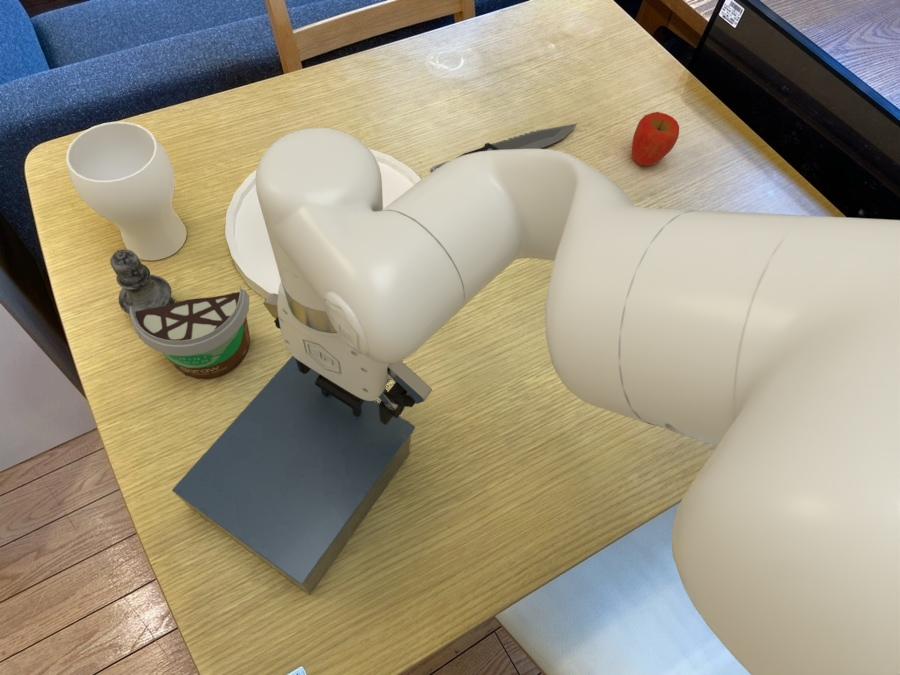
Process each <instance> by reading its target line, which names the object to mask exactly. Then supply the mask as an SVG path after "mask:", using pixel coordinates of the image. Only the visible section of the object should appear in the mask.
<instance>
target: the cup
mask: <svg viewBox="0 0 900 675" xmlns="http://www.w3.org/2000/svg"><path fill="white" fill-rule="evenodd" d="M65 160H66V161H65V162H66V166H67V170H68V174H69V178H70V181H71V184H72V186H73V187H74V189H75V191H76V193H77V194H78V196H79V197H80V199H81V200H82V202H84V204H86V206H87V207H88V208H90V209H91V210H92V211H93V212H95V213H96V214H97V215H98V216H100V217H101V218H103V219H105V220H108V221H109V222H112V223H113V224H114V225H115V226H116V227H117V228H118V229H119V232H120V235H121V239H122V241H123V244H124V247H125V249H126V250H131V251H133V252H134V253H135V254H136V255H137V256H138V258H139V260H142V261H159V260H164V259H167V258H169V257H171V256H172V255H174V254H175V253H177V252H178V251H179V250H180V249H182V247H183V246H184V244H185V242H186V240H187V235H188V233H187V228H186V226H185V224H184V222H183V221H182V219H181V217H180V216H179V215H178V214H177V212H176V211H175V210H174V206H173V198H174V195H175V189H176V188H175V186H176V184H175V182H176V181H175V170H174V167H173V164H172V162H171V159H170V157H169V155H168V153H167V151H166V150H165V148H164V146H162V144H161V143H160V141H159V140H158V139H157V138H156V136H155V135H154V134H153V133H152V132H151V131H150V130H149V129H148V128H146V127H145V126H142V125H139V124H137V123H135V122H134V123H133V122H129V121H110V122H103V123H101V124H96V125H94V126H91V127H90V128H88V129H86V130H83V131H82V132H81V133H79V134H78V135H77V136H76V137H74V138H73V140H72V142H71V143H70V144H69V145H68V148H67V151H66V153H65Z"/></svg>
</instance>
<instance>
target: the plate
mask: <svg viewBox="0 0 900 675" xmlns="http://www.w3.org/2000/svg"><path fill="white" fill-rule="evenodd" d="M368 148H369V149H370V151H371V152H372V154H373V155H374V157H375V158H376V161H377V163H378V165H379V168H380V173H381V178H382V196H383V209H384V208H385V207H387V206H388V205H389V204H391V203H392V202H393V201H395V200H396V199H397V198H398V197H400V196H401V195H402V194H404V193H405V192H406V191H407V190H409V189H410V188H411V187H413V186H414V185H415V184H416V183H418V182H419V181H420V180H422V178H421V177H419V175H418V174H417V173H416V172H415V171H414V170H413V169H412V168H411V167H410V166H408V165H406V164H404V163H403V162H401V161H400V160H398V159H397V158H395V157H393V156H392V155H389V154H387V153H384V152H381V151H378V150H375V149H373V148H370V147H368ZM256 171H257V169H255V170H254V171H252V172H251V173H249V174H248V175H247V177H246V178H245V180H243V182H241V184H240V185H239V187H238V188H237V189H236V190H235V191H234V193H233V196H232V198H231V201H230V202H229V206H228V208H227V211H226V213H225V227H224V228H225V229H224V230H225V231H224V236H225V239H226V242H227V246H228V249H229V252H230V255H231V258H232V261H233V264H234V267H235V269H236V270H237V272H238V273H239V275H240V276H241V278H243V280H244V281H245V283H246V284H247V286H248V287H249V288H250V289H251V290H253V291H254V292H256V293H257V294H258V295H259V296H261V297H262V298H264V299H265V300H266V299H267V298H268V297H269V296H270V295H271V294H272V293H274V294H278V292H279V285H280V282H281V278H280V275H279V271H278V268H277V264H276V261H275V257H274V254H273V250H272V246H271V243H270V239H269V236H268V232H267V229H266V225H265V221H264V218H263V214H262V211H261V207H260V204H259V200H258V196H257V191H256Z"/></svg>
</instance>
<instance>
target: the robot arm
mask: <svg viewBox="0 0 900 675" xmlns="http://www.w3.org/2000/svg"><path fill="white" fill-rule="evenodd" d="M369 148H370V147H368V145H366V144H365V143H364V142H363V141H362V140H360V139H359V138H357V137H356V136H354V135H352V134H350V133H348V132H346V131H343V130H339V129H335V128H329V127H308V128H302V129H298V130H294V131H292V132H289V133H287V134H285V135H283V136H281V137H279V138H278V139H276V140H275V141H273V143H272V144H270V145H269V146H268V147H267V149H266V150H265V151H264V153H263V154H262V155H261V158H260V159H259V162H258V164H257V167H256V170H257V171H256V191H257V196H258V200H259V204H260V207H261V211H262V214H263V218H264V221H265V225H266V229H267V232H268V236H269V239H270V243H271V246H272V250H273V254H274V257H275V261H276V264H277V268H278V271H279V275H280V278H281V282H280V285H279V292H278V294H274V293H272V294H271V295H270V296H269V297H268V298H267V299H265V300H264V301H263V305H264V307H265V308H266V310H267V311H268V312H269V314H270V315H271V316H272V318H274V320H273V322H274V324H275V326H276V328H277V329H278V330H279V329H280V333H281V336H282V340H283V343H284V347H285V349H286V350H287V352H288V353H289V354H290V355H291V357H292V356H293V357H295V359H296V362H297V366H298V369H299V371H300V372H301V373H303V374H307V373H308V372H309V371H310V369H313V370H314V371H316V372H317V373H319V374H321V375H322V376H324V377H325V378H327V379H329V380H330V381H332V382H334V383H335V384H337V385H338V386H340V387H342V388H343V389H345V390H347V391H348V392H350V393H352V394H353V395H355V396H357V397H359V398H361V399H363V400H366V401H377V400H378V399H379V400H380V401H379V402H378V403H379V415H380V420H381V423H383V424H385V425H386V424H387V423H388V422H389V421H390V419H391V418H392V417H393V416H394V417H395V418H398V417H399V416H400V415H401V414H402V413H403V411H404V410H405V408H413V407H414V405H418V404H421V403H423V402H425V401H426V400H427V398H428V397H429V395H430V394H431V393H432V391H433V389H432V387H431V386H430V385H429V384H428V383H427V382H425V380H423V379H422V378H421V377H420V376H419V375H418V374H417V373H416V372H415V371H413V370H412V369H411V368H410V367H409V366H407V365H406V363H405V362H404V360H405V359H407V358H409V357H410V356H412V355H413V354H415V353H416V352H417V351H418V350H419V349H420V348H422V347H423V346H424V345H425V344H426V343H427V342H428V341H429V340H430V339H432V337H433V336H434V335H435V334H436V333H438V332H439V331H440V330H441V329H442V328H443V327H444V326H445V325H446V324H447V323H449V321H451V320H452V319H453V318H454V317H455V316H456V315H457V314H458V313H459V312H461V310H462V309H463V308H464V307H466V305H467V304H468V303H469V302H471V301H472V300H473V299H475V297H476V296H477V295H478V294H479V293H480V292H482V291H483V290H484V289H485V288H486V287H487V286H488V285H490V283H492V281H494V280H495V279H496V278H497V277H498V276H499V275H500V274H502V273H503V272H504V271H505V270H506V269H507V268H508V267H509V266H511V264H513V263H514V262H516V261H517V260H522V259H535V260H536V259H537V260H545V261H546V260H547V261H551V262H552V261H553V264H552V268H551V273H550V277H549V282H548V285H547V292H546V299H545V306H544V307H545V308H544V329H545V338H546V344H547V350H548V354H549V357H550V361H551V364H552V366H553V368H554V371H555V373H556V376H558V378H559V379H560V381H561V382H562V384H563V385H564V386H565V388H566V389H567V390H568V391H570V393H572V394H573V395H574V396H575V397H576V398H578V400H580V401H582V402H584V403H586V404H588V405H590V406H593V407H596V408H600V409H602V410H605V411H608V412H611V413H614V414H618V415H621V416H624V417H627V418H629V419H632V420H635V421H639V422H641V423H645V424H647V425H652V426H656V427H659V428H662V429H664V430H667V431H669V432H672V433H676V434H679V435H681V436H684V437H688V438H691V439H694V440H697V441H700V442H703V443H705V444H709V445H712V446H714V447H715V448H714V450H713V451H712V453H711V454H710V456H709V457H708V458H707V460H706V461H705V463H704V464H703V466H702V467H701V469H700V470H699V472H698V473H697V475H696V477H695V478H694V479H693V481H692V483H691V484H690V486H689V487H688V488H687V490H686V492H685V494H684V495H683V497H682V498H681V501H680V502H679V505H678V507H677V509H676V511H675V515H674V519H673V525H672V529H671V540H670V541H671V552H672V558H673V562H674V564H675V567H676V570H677V573H678V576H679V579H680V581H681V584H682V587H683V589H684V591H685V593H686V595H687V596H688V598H689V600H690V602H691V605H693V607H694V609H695V610H696V611H697V614H698V615H700V617H701V619H702V620H703V621H704V623H705V624H706V625H707V627H708V629H710V631H711V632H712V634H714V635H715V637H716V638H717V639H718V640H719V641H720V643H721V644H722V645H723V646H724V647H725V649H726V650H727V651H728V652H729V653H730V654H731V655H732V657H733V658H734V659H735V660H736V661H737V662H738V663H739V664H740V665H741V666H742V667H743V668H744V669H745V670H746V671H747V672H748V673H749V675H900V219H885V218H866V217H865V218H863V217H847V216H825V215H805V214H804V215H803V214H801V215H800V214H782V213H766V212H765V213H764V212H763V213H760V212H743V211H722V210H721V211H720V210H718V211H717V210H705V209H702V210H701V209H671V208H670V209H667V208H654V207H644V206H636V205H635V203H634V202H633V201H632V200H631V199H630V197H629V196H628V195H627V194H626V193H625V191H624V190H623V189H622V188H621V187H620V186H619V185H618V184H617V183H615V181H614V180H612V179H611V178H610V177H609V176H607V175H605V174H604V173H603V172H602V171H600V170H598V169H596V168H595V167H593V166H592V165H590V164H588V163H587V162H585V161H584V160H582V159H580V158H578V157H576V156H574V155H572V154H570V153H567V152H564V151H560V150H555V149H550V148H539V149H509V150H490V151H481V152H475V153H471V154H467V155H463V156H460V155H459V156H460V157H459V156H457V157H458V158H457V157H455V158H453V159H450V160H448V161H449V162H447V161H446V162H447V163H445V164H444V165H442V166H440V167H438V168H436V170H434V171H432V172H430V173H429V174H427V175H426V176H424V177H423V178H421V180H420V181H419V182H418V183H416V184H415V185H414V186H413V187H411V188H410V189H409V190H407V191H406V192H405V193H404V194H402V195H401V196H400V197H398V198H397V199H396V200H395V201H393V202H392V203H391V204H389V205H388V206H387V207H385V208H384V209H383V196H382V178H381V173H380V168H379V165H378V163H377V161H376V158H375V157H374V155H373V154H372V152H371V151H370V149H371V148H370V149H369ZM391 379H392V380H393V381H394V383H393V385H392V386H391V387H390V389H389V390H387V389H386V387H387V384H388V383H389V382H390V380H391ZM400 417H401V416H400Z"/></svg>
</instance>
